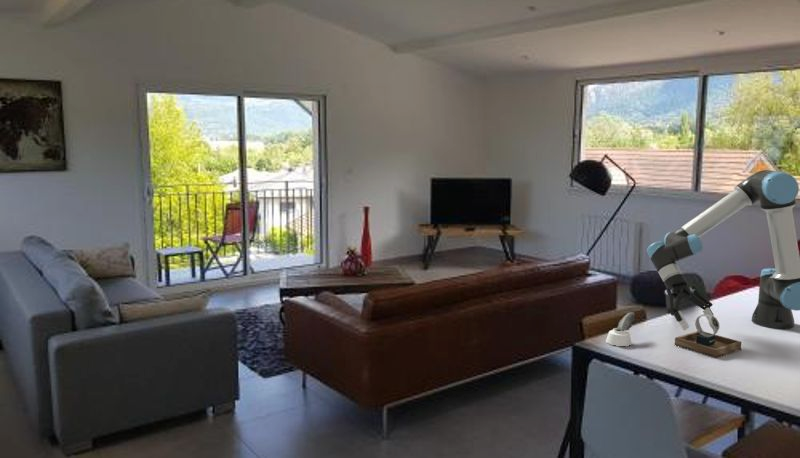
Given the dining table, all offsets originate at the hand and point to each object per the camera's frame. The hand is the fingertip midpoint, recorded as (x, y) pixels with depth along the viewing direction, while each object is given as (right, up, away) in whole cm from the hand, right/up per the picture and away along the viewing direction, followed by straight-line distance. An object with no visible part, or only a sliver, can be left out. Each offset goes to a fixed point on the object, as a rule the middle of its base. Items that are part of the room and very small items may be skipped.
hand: (700, 326), depth 231 cm
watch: (+2, -6, -1) cm, 7 cm away
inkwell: (-26, -6, +7) cm, 28 cm away
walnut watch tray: (+2, -7, -2) cm, 8 cm away
